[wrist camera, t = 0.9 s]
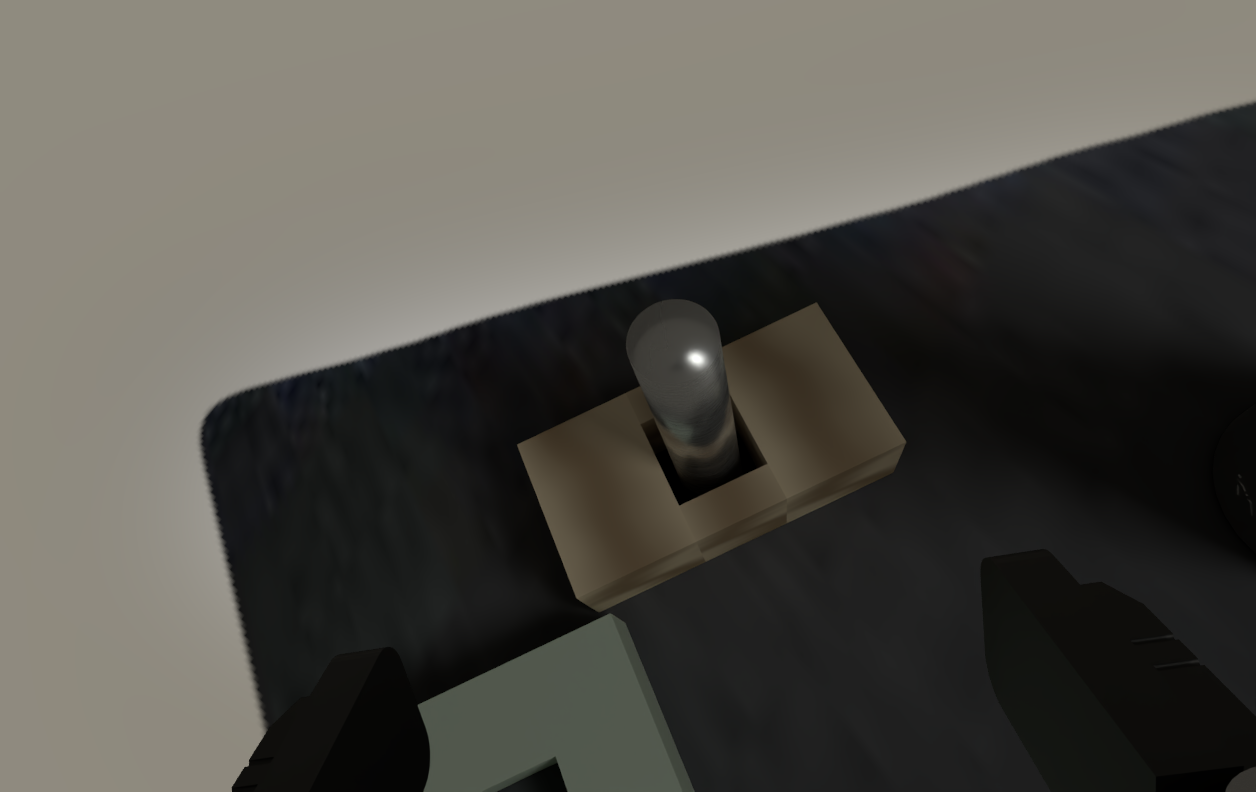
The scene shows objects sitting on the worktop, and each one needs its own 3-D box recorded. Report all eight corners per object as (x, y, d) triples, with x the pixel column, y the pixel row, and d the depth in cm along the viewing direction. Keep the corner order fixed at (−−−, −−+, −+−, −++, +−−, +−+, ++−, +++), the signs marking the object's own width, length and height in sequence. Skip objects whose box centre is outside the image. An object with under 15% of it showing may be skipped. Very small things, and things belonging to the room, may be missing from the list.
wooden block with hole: (813, 344, 42) (816, 302, 37) (893, 472, 38) (906, 441, 34) (543, 472, 42) (516, 444, 37) (599, 612, 38) (576, 598, 34)
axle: (725, 433, 41) (695, 284, 27) (753, 486, 39) (736, 357, 26) (669, 459, 40) (611, 324, 27) (695, 513, 39) (648, 399, 26)
